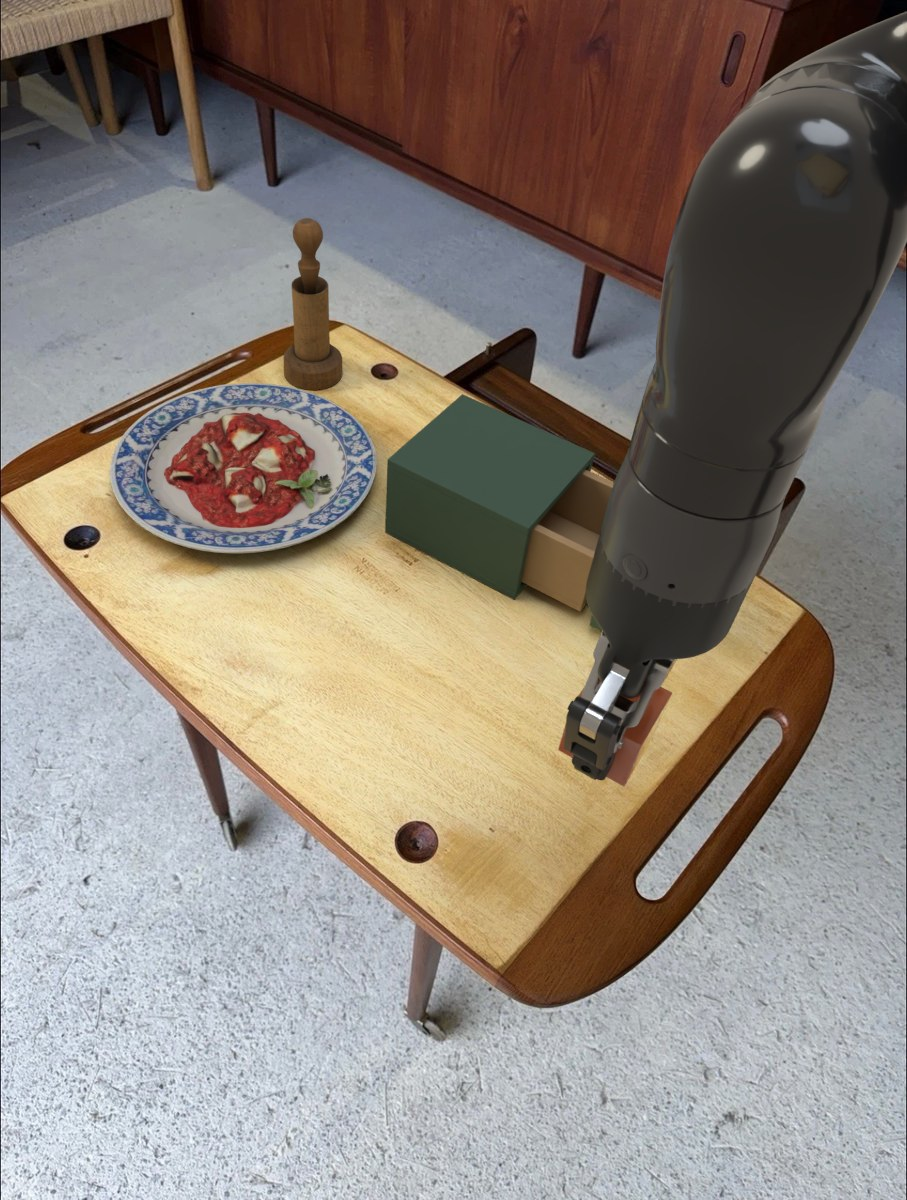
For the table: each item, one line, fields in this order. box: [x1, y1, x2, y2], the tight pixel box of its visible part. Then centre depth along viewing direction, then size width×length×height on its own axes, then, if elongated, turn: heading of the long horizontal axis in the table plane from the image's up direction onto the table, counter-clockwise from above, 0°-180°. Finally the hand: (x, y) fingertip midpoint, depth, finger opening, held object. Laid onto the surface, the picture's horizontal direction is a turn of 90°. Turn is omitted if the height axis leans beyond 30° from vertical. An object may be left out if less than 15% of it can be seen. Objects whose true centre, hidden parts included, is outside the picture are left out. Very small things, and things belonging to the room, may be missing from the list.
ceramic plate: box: [109, 382, 377, 554], centre depth 89 cm, size 26×26×3 cm
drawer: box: [521, 470, 614, 632], centre depth 81 cm, size 19×11×7 cm, turn 57°
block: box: [557, 686, 673, 788], centre depth 54 cm, size 4×4×4 cm
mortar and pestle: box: [283, 217, 343, 391], centre depth 96 cm, size 7×6×18 cm
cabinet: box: [384, 393, 596, 601], centre depth 85 cm, size 15×13×9 cm
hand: (608, 738), depth 55 cm, fingers closed on block, 4 cm apart
